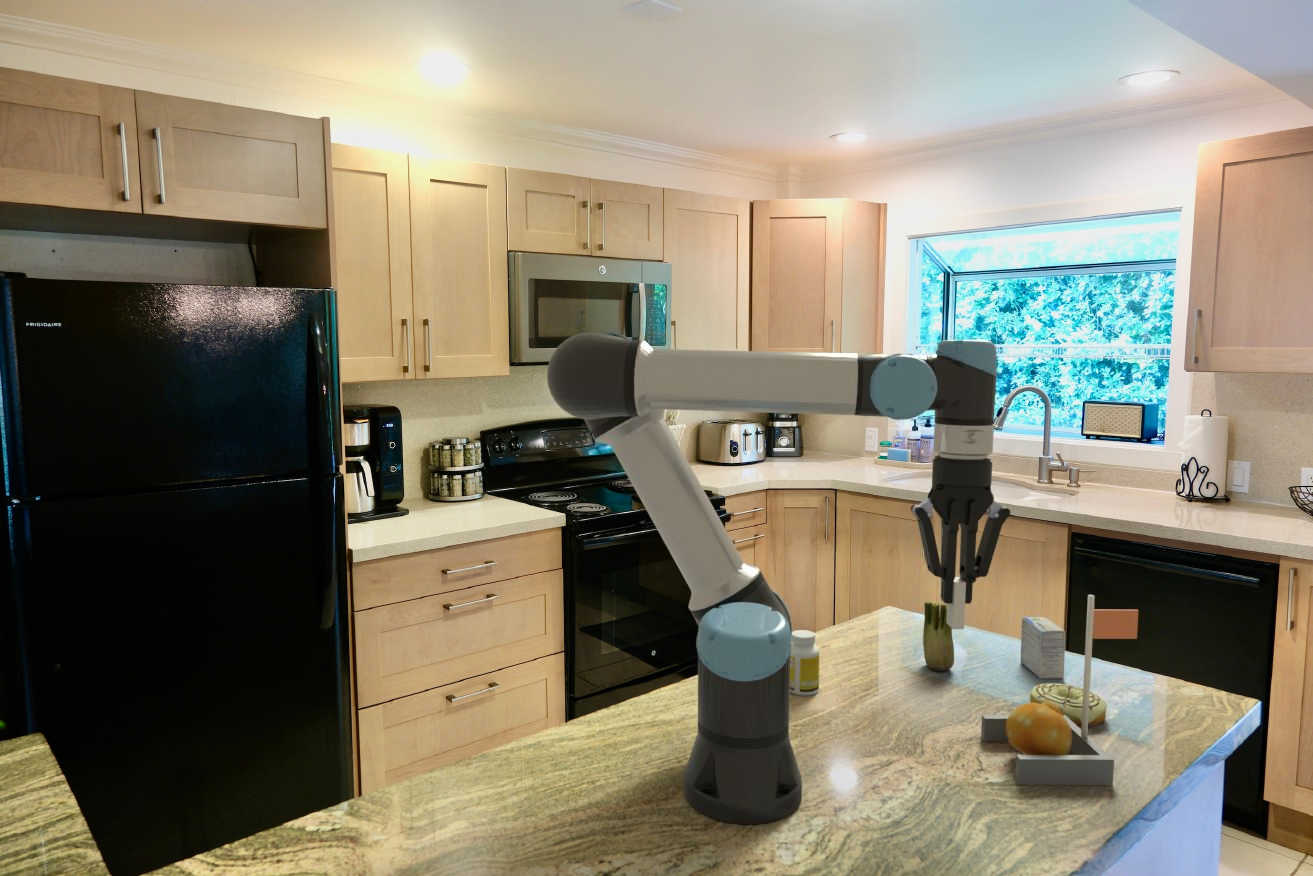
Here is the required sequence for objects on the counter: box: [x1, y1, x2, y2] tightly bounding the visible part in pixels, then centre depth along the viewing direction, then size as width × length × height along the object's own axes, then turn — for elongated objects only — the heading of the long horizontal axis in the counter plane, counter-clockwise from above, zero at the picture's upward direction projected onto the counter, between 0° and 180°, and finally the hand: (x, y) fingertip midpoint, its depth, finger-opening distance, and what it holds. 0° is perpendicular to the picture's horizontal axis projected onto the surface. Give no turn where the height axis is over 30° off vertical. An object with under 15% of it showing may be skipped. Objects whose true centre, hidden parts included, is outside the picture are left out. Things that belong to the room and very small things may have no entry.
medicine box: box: [1020, 616, 1066, 680], centre depth 148 cm, size 8×4×9 cm, turn 179°
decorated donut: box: [1029, 682, 1108, 727], centre depth 130 cm, size 10×11×4 cm
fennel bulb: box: [922, 600, 955, 672], centre depth 149 cm, size 6×5×12 cm
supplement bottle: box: [789, 629, 820, 697], centre depth 139 cm, size 5×5×10 cm
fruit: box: [1006, 702, 1072, 755], centre depth 115 cm, size 8×8×8 cm
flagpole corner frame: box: [980, 594, 1139, 786], centre depth 114 cm, size 18×13×24 cm
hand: (954, 625), depth 114 cm, fingers closed
